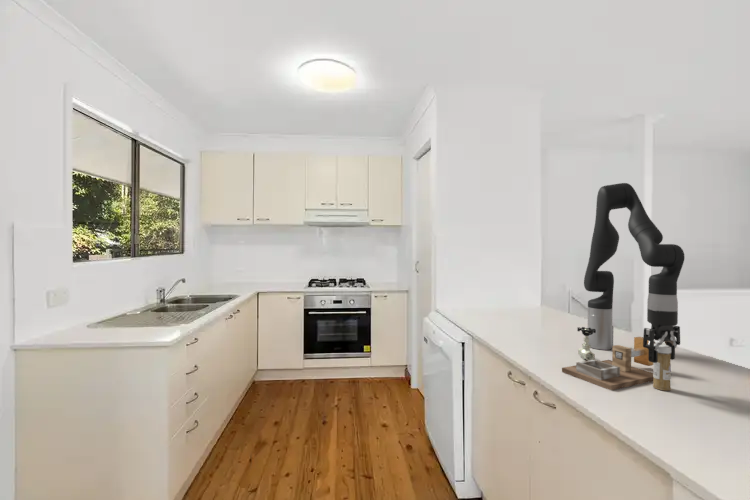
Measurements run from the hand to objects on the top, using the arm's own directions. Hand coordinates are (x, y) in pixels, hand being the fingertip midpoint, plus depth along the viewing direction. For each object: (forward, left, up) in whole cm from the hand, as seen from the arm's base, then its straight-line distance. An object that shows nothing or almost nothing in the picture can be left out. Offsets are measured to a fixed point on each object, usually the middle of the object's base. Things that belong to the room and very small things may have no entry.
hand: (661, 360), depth 118 cm
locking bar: (-8, -14, -7) cm, 18 cm away
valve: (-5, -30, -9) cm, 32 cm away
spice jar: (0, 0, -9) cm, 9 cm away
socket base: (+4, -14, -9) cm, 17 cm away
